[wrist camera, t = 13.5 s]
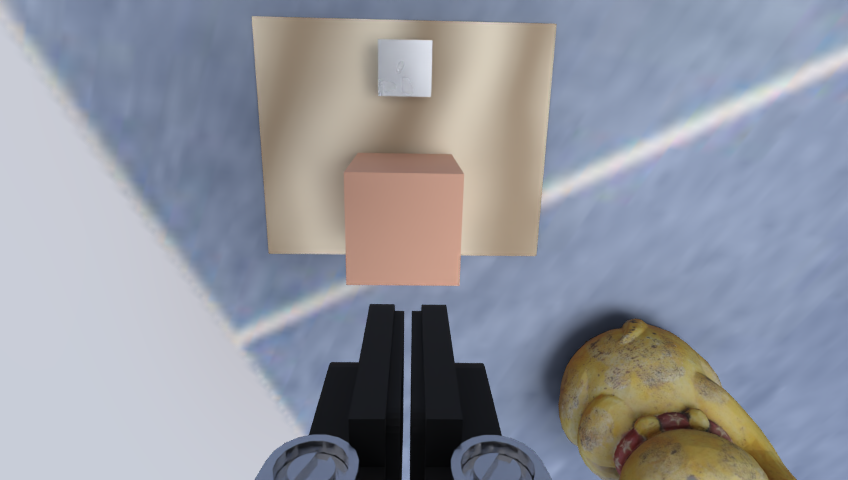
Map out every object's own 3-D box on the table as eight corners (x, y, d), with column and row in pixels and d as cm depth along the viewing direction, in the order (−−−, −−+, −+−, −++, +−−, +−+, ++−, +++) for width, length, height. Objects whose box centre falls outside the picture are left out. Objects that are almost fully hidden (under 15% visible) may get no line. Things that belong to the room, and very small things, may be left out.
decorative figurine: (553, 429, 35) (653, 666, 21) (532, 323, 33) (629, 508, 18) (692, 397, 35) (893, 617, 20) (681, 288, 32) (899, 450, 18)
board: (553, 24, 28) (556, 23, 27) (534, 253, 31) (536, 256, 31) (254, 17, 27) (251, 16, 27) (271, 251, 31) (268, 253, 30)
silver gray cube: (429, 45, 27) (432, 40, 24) (428, 95, 28) (431, 96, 25) (381, 43, 27) (377, 39, 24) (381, 94, 28) (378, 95, 25)
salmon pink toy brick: (451, 154, 29) (464, 174, 22) (448, 243, 30) (459, 285, 24) (357, 152, 28) (343, 172, 22) (359, 242, 30) (346, 284, 24)
